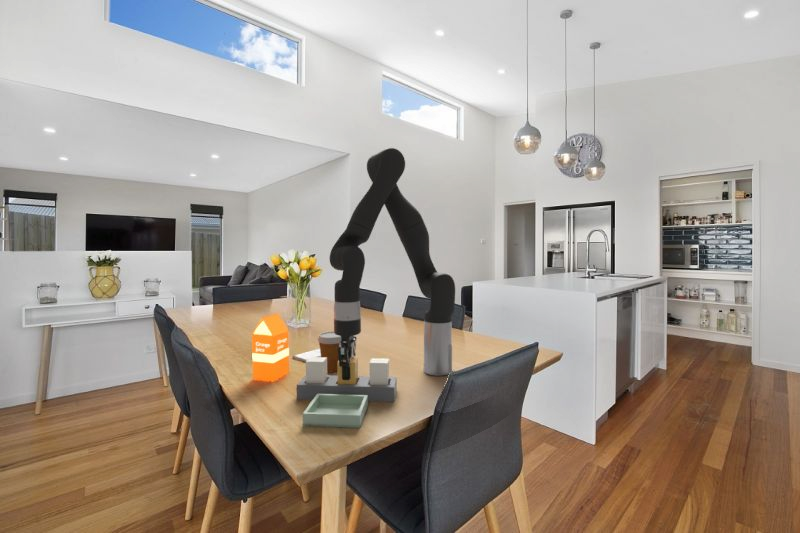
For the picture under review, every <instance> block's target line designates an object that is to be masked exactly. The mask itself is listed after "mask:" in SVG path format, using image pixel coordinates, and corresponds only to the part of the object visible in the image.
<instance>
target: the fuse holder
mask: <svg viewBox="0 0 800 533" xmlns="http://www.w3.org/2000/svg"><path fill="white" fill-rule="evenodd" d="M397 387H398V386H397V376H389V385H370V375H358V383H357V384H338V374H336V375H333V374H331V375H330V374H327V381H326V383H325V384H324V383H306V374H305V375H304V376H303V377H302V378H301V380H300V381H299V382H298V383H297V384H296V400H313V399H314V397H315V396H316V395H317V394H345V395H368V402H389V403H390V402H391V403H395V401H396V400H395V399H396V394H397Z"/></svg>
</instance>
